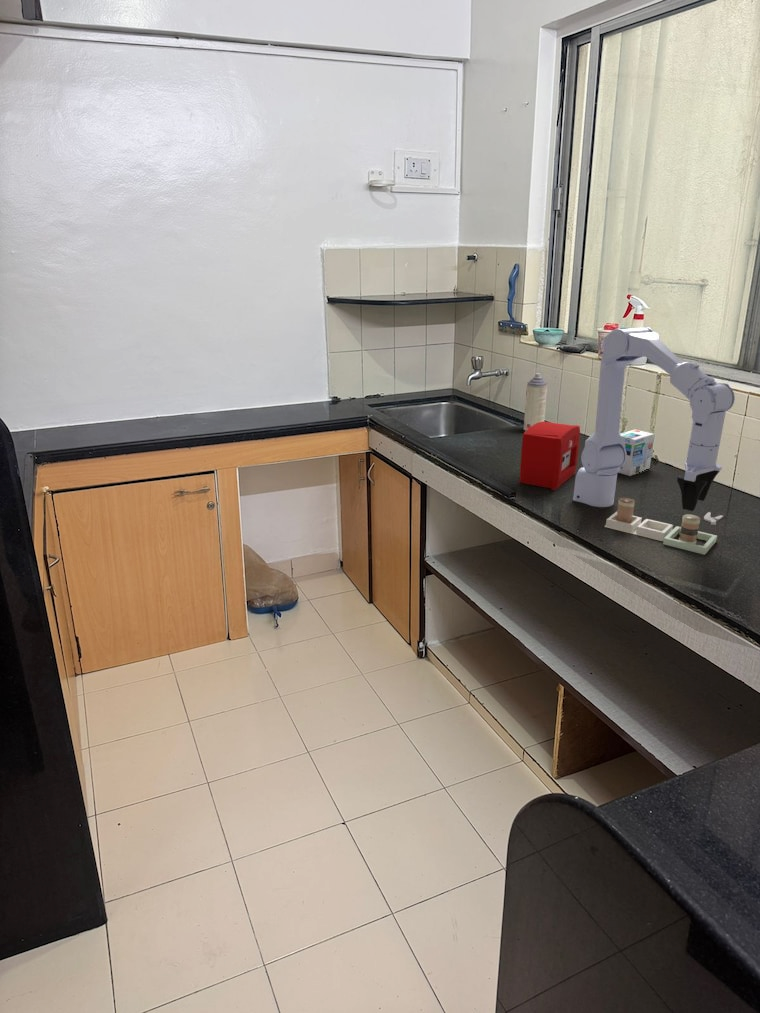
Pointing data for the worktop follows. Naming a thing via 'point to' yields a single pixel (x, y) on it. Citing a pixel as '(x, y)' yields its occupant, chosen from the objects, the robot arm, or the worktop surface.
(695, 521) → the cylinder
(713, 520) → the pliers
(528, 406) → the aerosol can
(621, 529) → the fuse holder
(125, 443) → the worktop surface
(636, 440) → the light bulb box
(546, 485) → the fire alarm
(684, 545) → the tray
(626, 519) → the fuse
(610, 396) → the robot arm
